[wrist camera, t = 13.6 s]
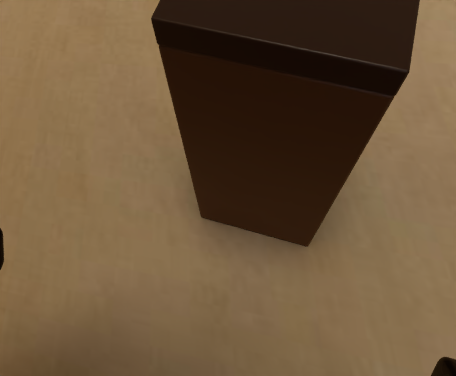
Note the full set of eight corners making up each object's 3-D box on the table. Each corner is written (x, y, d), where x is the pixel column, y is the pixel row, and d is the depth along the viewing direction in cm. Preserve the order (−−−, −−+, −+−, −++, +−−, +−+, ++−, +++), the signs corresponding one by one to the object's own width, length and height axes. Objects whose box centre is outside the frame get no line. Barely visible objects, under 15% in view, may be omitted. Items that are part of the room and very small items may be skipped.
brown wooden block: (308, 247, 19) (409, 72, 8) (200, 217, 20) (149, 17, 9) (331, 144, 21) (436, -107, 10) (234, 120, 22) (229, -137, 11)
